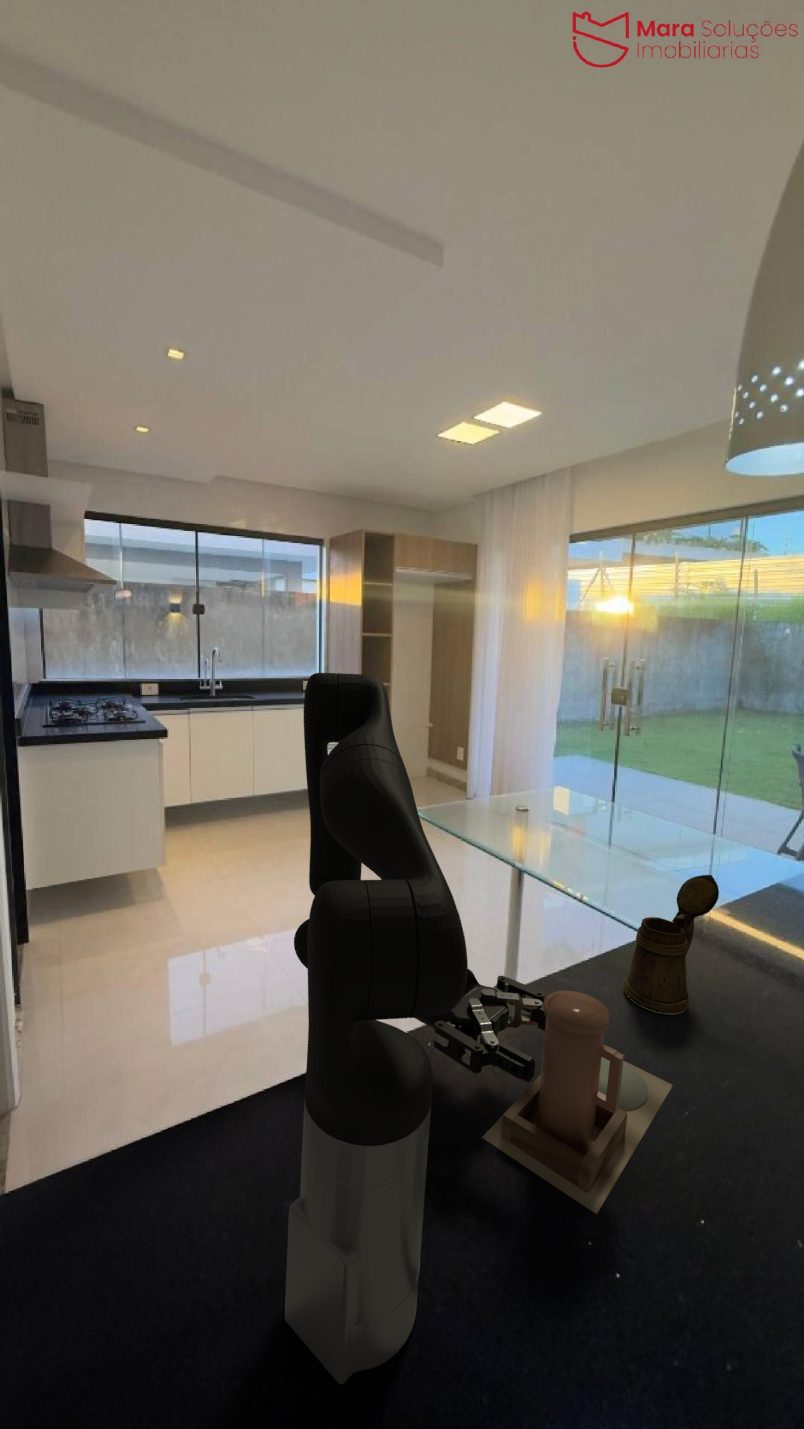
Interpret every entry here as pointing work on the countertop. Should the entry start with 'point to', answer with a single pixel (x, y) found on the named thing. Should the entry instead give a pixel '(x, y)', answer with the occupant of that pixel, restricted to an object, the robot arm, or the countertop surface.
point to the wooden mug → (668, 950)
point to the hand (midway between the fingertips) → (553, 1050)
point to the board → (611, 1136)
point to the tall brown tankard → (575, 1068)
